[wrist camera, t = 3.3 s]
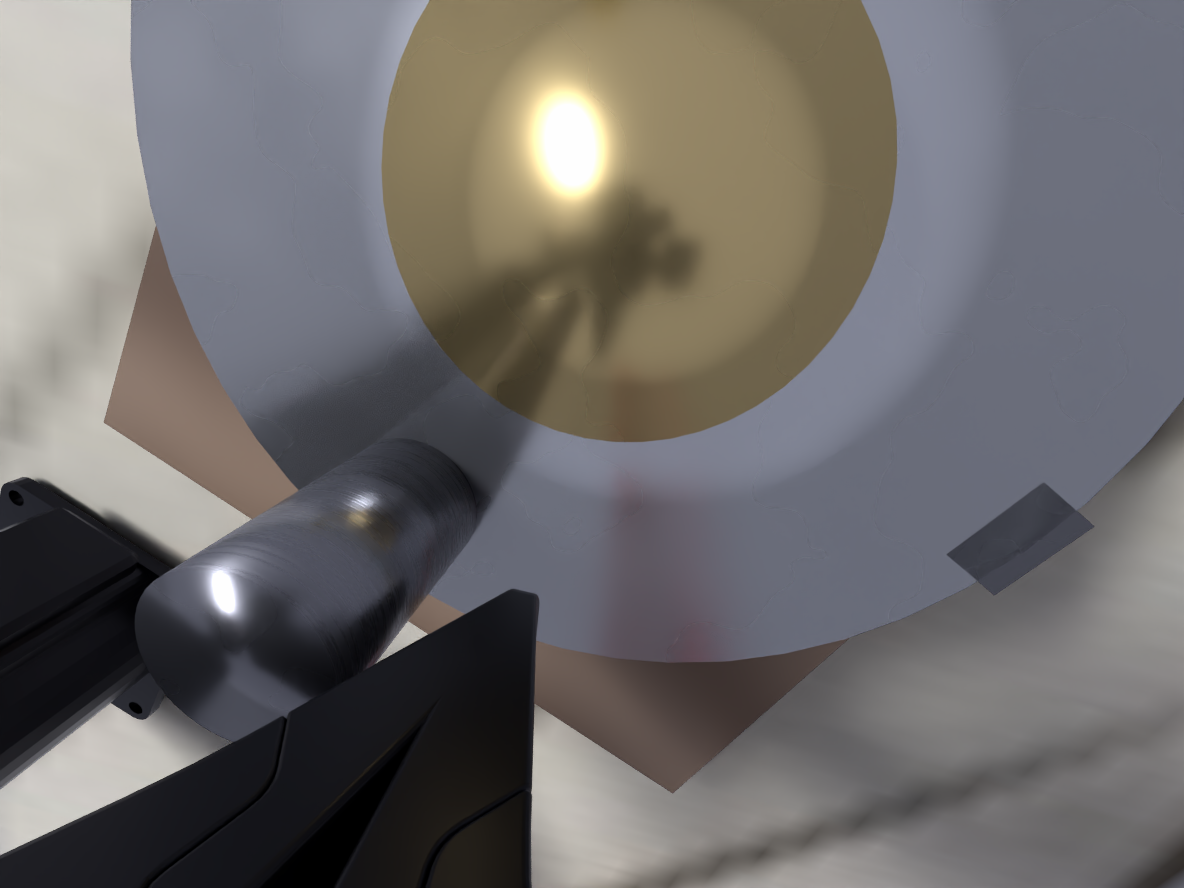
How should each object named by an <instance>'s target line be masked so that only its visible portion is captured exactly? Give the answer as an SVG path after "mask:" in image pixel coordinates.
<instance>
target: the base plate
mask: <svg viewBox="0 0 1184 888" xmlns="http://www.w3.org/2000/svg"><path fill="white" fill-rule="evenodd" d="M104 423H105V424H107V425H109V426H110V427H112V428H113V429H115V430H116V431H118V432H119V433H121V434H122V435H124V436H125V437H127V438H128V439H130V440H132V441H133V442H135V443H136V444H138V445H139V446H141V447H142V448H144V449H145V450H147V451H148V452H150V453H151V454H153V455H155V456H156V457H158V458H159V459H161V460H162V461H164V462H165V463H167V464H168V465H170V466H171V467H173V468H174V469H176V470H178V471H179V472H181V473H182V474H184V475H185V476H187V477H188V478H190V479H191V480H193V481H194V482H196V483H197V484H199V485H201V486H202V487H204V488H205V489H207V490H208V491H210V492H211V493H213V494H214V495H216V496H217V497H219V498H220V499H222V500H224V501H225V502H227V503H228V504H230V505H231V506H233V507H234V508H236V509H237V510H239V511H240V512H242V513H243V514H245V515H247V516H248V517H250V518H251V519H254V518H255V517H257V516H258V515H260V514H262V513H263V512H265V511H266V510H268V509H270V508H271V507H273V506H274V505H276V504H278V503H279V502H281V501H282V500H284V499H286V498H287V497H289V496H291V495H292V494H294V493H295V492H297V491H299V490H298V489H297V488H296V487H295V486H294V485H293V484H292V483H291V482H290V480H289V479H288V478H287V477H286V475H285V474H284V473H283V472H282V470H281V469H280V468H279V467H278V465H277V464H276V463H275V461H274V460H273V459H272V458H271V456H270V455H269V454H268V453H267V451H266V450H265V449H264V448H263V446H262V445H261V444H260V443H259V441H258V440H257V439H256V438H255V436H254V435H253V433H252V432H251V430H250V428H249V427H248V425H247V424H246V422H245V421H244V419H243V418H242V416H241V415H240V413H239V412H238V410H237V408H236V407H235V405H234V404H233V402H232V401H231V399H230V398H229V396H228V395H227V393H226V391H225V390H224V388H223V387H222V385H221V383H220V381H219V379H218V377H217V375H216V373H215V371H214V369H213V367H212V366H211V364H210V362H209V360H208V358H207V356H206V354H205V352H204V350H203V348H202V346H201V344H200V342H199V340H198V339H197V337H196V335H195V333H194V330H193V328H192V325H191V323H190V320H189V318H188V315H187V313H186V310H185V308H184V305H183V303H182V300H181V298H180V295H179V293H178V290H177V288H176V286H175V283H174V281H173V278H172V276H171V273H170V270H169V267H168V263H167V260H166V256H165V253H164V250H163V246H162V243H161V239H160V236H159V232H158V229H157V226H156V228H155V231H154V235H153V239H152V243H151V246H150V250H149V254H148V258H147V262H146V265H145V269H144V273H143V277H142V280H141V284H140V288H139V292H138V295H137V299H136V303H135V307H134V310H133V314H132V318H131V322H130V325H129V329H128V333H127V337H126V341H125V344H124V348H123V352H122V356H121V359H120V363H119V367H118V371H117V374H116V378H115V382H114V386H113V389H112V393H111V397H110V401H109V405H108V408H107V412H106V416H105V420H104ZM462 615H464V613H462V612H460V611H458V610H456V609H455V608H453V607H451V606H449V605H447V604H445V603H444V602H442V601H440V600H438V599H436V598H434V597H433V596H431V595H429V594H428V595H427V597H426V598H425V599H424V601H423V602H422V603H421V605H420V606H419V607H418V608H417V610H416V611H415V612H414V614H413V615H412V616H411V618H410V619H409V620H408V621H409V622H411V623H412V624H414V625H415V626H417V627H418V628H420V629H421V630H423V631H424V632H426V633H427V634H430V633H432V632H434V631H435V630H437V629H439V628H441V627H443V626H444V625H446V624H448V623H450V622H452V621H453V620H455V619H457V618H459V617H461V616H462ZM848 639H849V638H847V639H844V640H840V641H835V642H831V643H827V644H823V645H819V646H815V647H811V648H807V649H802V650H798V651H794V652H790V653H786V654H779V655H771V656H764V657H756V658H749V659H741V660H733V661H721V662H681V663H667V662H655V661H642V660H630V659H618V658H611V657H606V656H600V655H595V654H590V653H584V652H579V651H574V650H568V649H563V648H560V647H556V646H553V645H549V644H546V643H543V642H539V641H536V665H535V698H534V703H535V704H536V705H538V706H539V707H541V708H542V709H544V710H546V711H547V712H549V713H550V714H552V715H553V716H555V717H556V718H558V719H559V720H561V721H562V722H564V723H565V724H567V725H569V726H570V727H572V728H573V729H575V730H576V731H578V732H579V733H581V734H582V735H584V736H585V737H587V738H588V739H590V740H592V741H593V742H595V743H596V744H598V745H599V746H601V747H602V748H604V749H605V750H607V751H608V752H610V753H611V754H613V755H615V756H616V757H618V758H619V759H621V760H622V761H624V762H625V763H627V764H628V765H630V766H631V767H633V768H634V769H636V770H638V771H639V772H641V773H642V774H644V775H645V776H647V777H648V778H650V779H651V780H653V781H654V782H656V783H657V784H659V785H661V786H662V787H664V788H665V789H667V790H668V791H670V792H671V793H674V792H675V791H676V790H677V789H678V788H679V787H681V786H682V785H683V784H684V783H685V782H686V781H687V780H689V779H690V778H691V777H692V776H693V775H694V774H695V773H696V772H698V771H699V770H700V769H701V768H702V767H703V766H704V765H706V764H707V763H708V762H709V761H710V760H711V759H712V758H714V757H715V756H716V755H717V754H718V753H719V752H720V751H722V750H723V749H724V748H725V747H726V746H727V745H728V744H729V743H731V742H732V741H733V740H734V739H735V738H736V737H737V736H739V735H740V734H741V733H742V732H743V731H744V730H745V729H747V728H748V727H749V726H750V725H751V724H752V723H753V722H754V721H756V720H757V719H758V718H759V717H760V716H761V715H762V714H764V713H765V712H766V711H767V710H768V709H769V708H770V707H772V706H773V705H774V704H775V703H776V702H777V701H778V700H780V699H781V698H782V697H783V696H784V695H785V694H786V693H787V692H789V691H790V690H791V689H792V688H793V687H794V686H795V685H797V684H798V683H799V682H800V681H801V680H802V679H803V678H805V677H806V676H807V675H808V674H809V673H810V672H811V671H813V670H814V669H815V668H816V667H817V666H818V665H819V664H820V663H822V662H823V661H824V660H825V659H826V658H827V657H828V656H830V655H831V654H832V653H833V652H834V651H835V650H836V649H838V648H839V647H840V646H841V645H842V644H843V643H844V642H846V641H847V640H848Z"/></svg>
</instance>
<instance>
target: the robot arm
mask: <svg viewBox="0 0 1184 888" xmlns="http://www.w3.org/2000/svg"><path fill="white" fill-rule="evenodd" d="M170 570H172V569H171V568H170V567H168V566H167V565H165V564H164V563H162V562H160V561H159V560H157V559H156V558H154V557H153V556H151V555H150V554H148V553H146V552H145V551H143V550H142V549H140V548H139V547H137V546H135V545H134V544H132V543H131V542H129V541H128V540H126V539H125V538H123V537H121V536H120V535H118V534H117V533H115V532H114V531H112V530H111V529H109V528H107V527H106V526H104V525H103V524H101V523H100V522H98V521H97V520H95V519H93V518H92V517H90V516H89V515H87V514H86V513H84V512H83V511H81V510H79V509H78V508H76V507H75V506H73V505H72V504H70V503H69V502H67V501H65V500H64V499H62V498H61V497H59V496H58V495H56V494H55V493H53V492H51V491H50V490H48V489H47V488H45V487H44V486H42V485H41V484H39V483H37V482H36V481H34V480H32V479H30V478H27V477H22V478H19V479H16V480H13V481H11V482H8V483H6V484H4V485H3V486H2V488H1V493H0V789H1V788H3V787H4V786H5V785H7V784H8V783H9V782H10V781H12V780H13V779H14V778H16V777H17V776H18V775H19V774H21V773H22V772H23V771H24V770H26V769H27V768H28V767H30V766H31V765H32V764H33V763H35V762H36V761H37V760H38V759H40V758H41V757H42V756H44V755H45V754H46V753H47V752H49V751H50V750H51V749H52V748H54V747H55V746H56V745H58V744H59V743H60V742H61V741H63V740H64V739H65V738H67V737H68V736H69V735H70V734H72V733H73V732H74V731H75V730H77V729H78V728H79V727H81V726H82V725H83V724H84V723H86V722H87V721H88V720H89V719H91V718H92V717H93V716H95V715H96V714H97V713H98V712H100V711H101V710H102V709H104V708H105V707H106V706H107V705H109V704H110V703H112V704H113V705H115V706H116V707H118V708H120V709H121V710H123V711H124V712H126V713H128V714H129V715H131V716H132V717H135V718H137V719H141V720H143V719H146V718H148V717H149V716H150V715H151V714H152V713H153V712H155V711H156V710H157V709H158V708H159V706H160V704H161V701H162V699H163V697H164V694H165V693H164V692H163V691H162V690H161V688H160V687H159V686H158V685H157V683H156V682H155V680H154V679H153V677H152V676H151V674H150V673H149V671H148V669H147V667H146V665H145V663H144V661H143V658H142V656H141V653H140V651H139V648H138V644H137V640H136V634H135V613H136V608H137V605H138V602H139V600H140V597H141V596H142V594H143V592H144V591H145V589H146V588H147V587H148V586H149V585H150V584H151V583H152V582H153V581H154V580H156V579H157V578H159V577H160V576H162V575H163V574H165V573H167V572H168V571H170ZM539 604H540V601H539V597H538V595H537V594H535V593H531V592H527V591H523V590H519V589H509V590H507V591H505V592H504V593H502V594H500V595H498V596H496V597H495V598H493V599H491V600H489V601H487V602H486V603H484V604H482V605H480V606H479V607H477V608H475V609H473V610H471V611H470V612H468V613H466V614H464V615H462V616H461V617H459V618H457V619H455V620H453V621H452V622H450V623H448V624H446V625H444V626H443V627H441V628H439V629H437V630H435V631H434V632H432V633H430V634H428V635H426V636H425V637H423V638H421V639H419V640H417V641H416V642H414V643H412V644H410V645H408V646H407V647H405V648H403V649H401V650H399V651H398V652H396V653H394V654H392V655H391V656H389V657H387V658H385V659H383V660H382V661H380V662H378V663H376V664H374V665H373V666H371V667H369V668H367V669H365V670H364V671H362V672H360V673H358V674H356V675H355V676H353V677H351V678H349V679H347V680H346V681H344V682H342V683H340V684H338V685H337V686H335V687H333V688H331V689H329V690H328V691H326V692H324V693H322V694H320V695H319V696H317V697H315V698H313V699H311V700H310V701H308V702H306V703H304V704H303V705H301V706H299V707H297V708H295V709H294V710H292V711H290V712H289V713H288V715H287V719H286V717H284V716H281V717H279V718H277V719H275V720H273V721H271V722H270V723H268V724H266V725H264V726H263V727H261V728H259V729H257V730H255V731H254V732H252V733H250V734H248V735H246V736H244V737H242V738H241V739H239V740H237V741H235V742H233V743H231V744H229V745H227V746H226V747H224V748H222V749H220V750H218V751H216V752H214V753H212V754H210V755H209V756H207V757H205V758H203V759H201V760H199V761H197V762H195V763H194V764H192V765H189V766H187V767H185V768H183V769H181V770H179V771H177V772H175V773H173V774H171V775H169V776H167V777H165V778H163V779H161V780H159V781H157V782H155V783H153V784H151V785H148V786H146V787H144V788H142V789H140V790H138V791H136V792H134V793H132V794H130V795H128V796H126V797H124V798H122V799H120V800H117V801H115V802H113V803H111V804H109V805H107V806H105V807H102V808H100V809H98V810H96V811H94V812H92V813H90V814H88V815H85V816H83V817H81V818H79V819H77V820H75V821H73V822H70V823H68V824H66V825H64V826H62V827H60V828H58V829H56V830H53V831H51V832H49V833H47V834H45V835H43V836H41V837H38V838H36V839H34V840H32V841H30V842H28V843H26V844H24V845H21V846H19V847H17V848H15V849H13V850H11V851H9V852H6V853H4V854H2V855H0V888H532V882H531V811H532V794H531V790H532V765H533V731H534V698H535V665H536V636H537V625H538V615H539Z"/></svg>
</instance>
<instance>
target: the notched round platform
mask: <svg viewBox="0 0 1184 888" xmlns="http://www.w3.org/2000/svg"><path fill="white" fill-rule="evenodd" d="M131 69H132V80H133V91H134V103H135V114H136V125H137V136H138V141H139V146H140V152H141V157H142V162H143V167H144V173H145V178H146V183H147V189H148V194H149V199H150V204H151V209H152V212H153V215H154V219H155V222H156V226H157V229H158V232H159V236H160V239H161V243H162V246H163V250H164V253H165V256H166V260H167V263H168V267H169V270H170V273H171V276H172V278H173V281H174V283H175V286H176V288H177V290H178V293H179V295H180V298H181V300H182V303H183V305H184V308H185V310H186V313H187V315H188V318H189V320H190V323H191V325H192V328H193V330H194V333H195V335H196V337H197V339H198V340H199V342H200V344H201V346H202V348H203V350H204V352H205V354H206V356H207V358H208V360H209V362H210V364H211V366H212V367H213V369H214V371H215V373H216V375H217V377H218V379H219V381H220V383H221V385H222V387H223V388H224V390H225V391H226V393H227V395H228V396H229V398H230V399H231V401H232V402H233V404H234V405H235V407H236V408H237V410H238V412H239V413H240V415H241V416H242V418H243V419H244V421H245V422H246V424H247V425H248V427H249V428H250V430H251V432H252V433H253V435H254V436H255V438H256V439H257V440H258V441H259V443H260V444H261V445H262V446H263V448H264V449H265V450H266V451H267V453H268V454H269V455H270V456H271V458H272V459H273V460H274V461H275V463H276V464H277V465H278V467H279V468H280V469H281V470H282V472H283V473H284V474H285V475H286V477H287V478H288V479H289V480H290V482H291V483H292V484H293V485H294V486H295V487H296V488H297V489H298V490H299V491H297V492H295V493H294V494H292V495H291V496H289V497H287V498H286V499H284V500H282V501H281V502H279V503H278V504H276V505H274V506H273V507H271V508H270V509H268V510H266V511H265V512H263V513H262V514H260V515H258V516H257V517H255V518H254V519H252V520H250V521H249V522H247V523H245V524H244V525H242V526H241V527H239V528H237V529H236V530H234V531H233V532H231V533H229V534H228V535H226V536H225V537H223V538H221V539H220V540H218V541H217V542H215V543H213V544H212V545H210V546H208V547H207V548H205V549H204V550H202V551H200V552H199V553H197V554H196V555H194V556H192V557H191V558H189V559H188V560H186V561H184V562H183V563H181V564H180V565H178V566H176V567H175V568H173V569H172V570H170V571H168V572H167V573H165V574H163V575H162V576H160V577H159V578H157V579H156V580H154V581H153V582H152V583H151V584H150V585H149V586H148V587H147V588H146V589H145V591H144V592H143V594H142V596H141V597H140V600H139V602H138V605H137V608H136V613H135V634H136V640H137V644H138V648H139V651H140V653H141V656H142V658H143V661H144V663H145V665H146V667H147V669H148V671H149V673H150V674H151V676H152V677H153V679H154V680H155V682H156V683H157V685H158V686H159V687H160V688H161V690H162V691H163V692H164V693H165V695H166V696H167V697H168V698H169V699H170V700H171V701H172V702H173V703H174V704H175V705H176V706H177V707H178V708H179V709H180V710H181V711H182V712H184V713H185V714H186V715H187V716H189V717H190V718H191V719H192V720H194V721H195V722H196V723H198V724H200V725H201V726H203V727H204V728H206V729H207V730H209V731H211V732H213V733H215V734H216V735H218V736H220V737H223V738H225V739H227V740H230V741H232V742H235V741H237V740H239V739H241V738H242V737H244V736H246V735H248V734H250V733H252V732H254V731H255V730H257V729H259V728H261V727H263V726H264V725H266V724H268V723H270V722H271V721H273V720H275V719H277V718H279V717H281V716H284V717H286V719H287V715H288V713H289V712H290V711H292V710H294V709H295V708H297V707H299V706H301V705H303V704H304V703H306V702H308V701H310V700H311V699H313V698H315V697H317V696H319V695H320V694H322V693H324V692H326V691H328V690H329V689H331V688H333V687H335V686H337V685H338V684H340V683H342V682H344V681H346V680H347V679H349V678H351V677H353V676H355V675H356V674H358V673H360V672H362V671H364V670H365V669H367V668H369V667H371V666H373V665H374V664H375V663H376V662H377V661H378V659H379V658H380V657H381V655H382V654H383V653H384V651H385V650H386V649H387V648H388V646H389V645H390V644H391V642H392V641H393V640H394V638H395V637H396V636H397V634H398V633H399V632H400V631H401V629H402V628H403V627H404V625H405V624H406V623H407V621H408V620H409V619H410V618H411V616H412V615H413V614H414V612H415V611H416V610H417V608H418V607H419V606H420V605H421V603H422V602H423V601H424V599H425V598H426V597H427V595H428V594H429V595H431V596H433V597H434V598H436V599H438V600H440V601H442V602H444V603H445V604H447V605H449V606H451V607H453V608H455V609H456V610H458V611H460V612H462V613H464V614H466V613H468V612H470V611H471V610H473V609H475V608H477V607H479V606H480V605H482V604H484V603H486V602H487V601H489V600H491V599H493V598H495V597H496V596H498V595H500V594H502V593H504V592H505V591H507V590H509V589H519V590H523V591H527V592H531V593H535V594H537V595H538V597H539V601H540V604H539V615H538V625H537V636H536V641H539V642H543V643H546V644H549V645H553V646H556V647H560V648H563V649H568V650H574V651H579V652H584V653H590V654H595V655H600V656H606V657H611V658H618V659H630V660H642V661H655V662H667V663H681V662H721V661H733V660H741V659H749V658H756V657H764V656H771V655H779V654H786V653H790V652H794V651H798V650H802V649H807V648H811V647H815V646H819V645H823V644H827V643H831V642H835V641H840V640H844V639H847V638H850V637H852V636H855V635H858V634H861V633H864V632H866V631H869V630H872V629H875V628H878V627H880V626H883V625H886V624H889V623H891V622H894V621H897V620H900V619H903V618H905V617H907V616H910V615H912V614H914V613H916V612H918V611H920V610H922V609H924V608H926V607H928V606H930V605H932V604H934V603H936V602H938V601H940V600H942V599H945V598H947V597H949V596H951V595H953V594H955V593H957V592H959V591H961V590H963V589H965V588H967V587H969V586H970V585H972V584H973V583H975V582H977V581H978V582H979V583H980V584H982V585H983V586H984V587H985V588H986V589H987V590H989V591H990V592H991V593H992V594H993V595H995V594H997V593H998V592H1000V591H1001V590H1003V589H1004V588H1006V587H1007V586H1009V585H1010V584H1011V583H1013V582H1014V581H1016V580H1017V579H1019V578H1020V577H1022V576H1023V575H1025V574H1026V573H1027V572H1029V571H1030V570H1032V569H1033V568H1035V567H1036V566H1038V565H1039V564H1041V563H1042V562H1043V561H1045V560H1046V559H1048V558H1049V557H1051V556H1052V555H1054V554H1055V553H1057V552H1058V551H1059V550H1061V549H1062V548H1064V547H1065V546H1067V545H1068V544H1070V543H1071V542H1073V541H1074V540H1076V539H1077V538H1078V537H1080V536H1081V535H1083V534H1084V533H1086V532H1087V531H1089V530H1090V529H1092V528H1093V527H1094V525H1092V524H1091V523H1090V522H1089V521H1088V520H1087V519H1086V518H1084V517H1083V516H1082V515H1081V514H1080V513H1079V512H1078V511H1077V510H1078V509H1080V508H1081V507H1082V506H1083V505H1085V504H1086V503H1087V502H1088V501H1089V500H1091V499H1092V498H1093V497H1094V496H1095V495H1096V494H1097V493H1098V492H1099V491H1100V490H1101V489H1102V488H1103V487H1104V486H1105V485H1106V484H1107V483H1108V482H1109V481H1110V480H1111V479H1112V478H1113V477H1114V476H1115V475H1116V474H1117V473H1118V472H1119V471H1120V470H1121V469H1122V468H1123V467H1124V466H1125V465H1126V464H1127V463H1128V462H1129V461H1130V460H1131V459H1132V458H1133V457H1134V456H1135V455H1136V454H1137V453H1138V452H1139V451H1140V450H1141V449H1142V448H1143V447H1144V446H1145V445H1146V444H1147V443H1148V442H1149V441H1150V439H1151V438H1152V437H1153V436H1154V434H1155V433H1156V432H1157V431H1158V429H1159V428H1160V427H1161V426H1162V425H1163V423H1164V422H1165V421H1166V420H1167V418H1168V417H1169V416H1170V415H1171V413H1172V412H1173V411H1174V410H1175V408H1176V407H1177V406H1178V405H1179V404H1180V402H1181V401H1182V400H1183V399H1184V0H131Z"/></svg>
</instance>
